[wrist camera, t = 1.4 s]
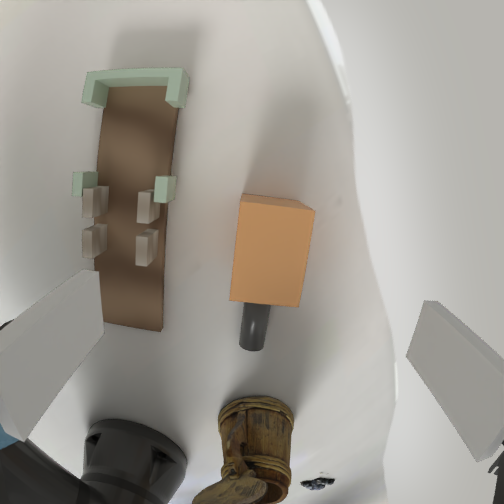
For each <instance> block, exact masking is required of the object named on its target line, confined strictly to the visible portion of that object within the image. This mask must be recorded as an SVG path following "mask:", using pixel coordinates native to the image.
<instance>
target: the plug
mask: <svg viewBox="0 0 504 504" xmlns="http://www.w3.org/2000/svg"><path fill="white" fill-rule="evenodd" d="M314 215H315V211H314V210H313V209H311V208H310V207H308V206H306V205H305V204H303V203H301V202H300V201H296V200H289V199H281V198H274V197H266V196H258V195H249V194H242V196H241V201H240V208H239V217H238V226H237V235H236V243H235V252H234V262H233V271H232V280H231V289H230V299H229V300H230V301H239V302H244V308H243V316H242V324H241V332H240V340H239V345H240V346H241V347H242V348H243V349H245V350H248V351H259V350H261V349H263V347H264V342H265V336H266V329H267V323H268V317H269V311H270V305H278V306H289V307H299V303H300V297H301V292H302V287H303V281H304V276H305V270H306V264H307V259H308V253H309V247H310V241H311V235H312V228H313V222H314Z"/></svg>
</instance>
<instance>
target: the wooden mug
mask: <svg viewBox="0 0 504 504" xmlns="http://www.w3.org/2000/svg"><path fill="white" fill-rule="evenodd" d="M293 426H294V418H293V414H292V412H291V410H290V409H289V408H288V407H287V406H286V405H285V404H284V403H282V402H281V401H279V400H278V399H274V398H271V397H268V396H254V397H247V398H243V399H239V400H235V401H233V402H232V403H230V404H228V405H227V406H226V407H225V408H224V409H222V411H221V412H220V414H219V415H218V431H219V433H220V436H221V439H222V449H223V458H224V465H223V467H222V468H221V476H222V480H221V481H219V482H217V483H215V484H213V485H211V486H209V487H207V488H205V489H204V490H202V491H201V492H200V493H199V494H198V495H197V496H195V497H194V499H193V501H192V504H276V503H279V502H281V501H283V500H284V499H285V498H286V496H287V494H288V487H289V486H290V484H291V469H290V467H289V465H290V449H291V434H292V431H293Z"/></svg>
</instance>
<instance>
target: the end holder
mask: <svg viewBox="0 0 504 504" xmlns="http://www.w3.org/2000/svg"><path fill="white" fill-rule="evenodd" d="M189 80H190V78H189V76H188V75H187V73H186V72H185V70H184V69H183V68H132V69H116V70H103V71H93V72H87V75H86V80H85V85H84V91H83V96H82V102H81V103H84V104H86V105H89V106H92V107H95V108H106V103H107V97H108V91H109V87H125V86H167V92H166V98H165V101H166V102H168V103H169V104H170V105H171V106H173V107H174V108H185V105H186V98H187V92H188V86H189ZM176 179H177V176H166V175H165V176H156V179H155V190H154V202H159V203H167V202H170V201H172V200H174V199H175V189H176ZM97 184H98V172H91V171H88V172H73V186H72V196H80V197H82V196H83V189H84V188H90V187H96V186H97Z"/></svg>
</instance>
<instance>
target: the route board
mask: <svg viewBox="0 0 504 504" xmlns="http://www.w3.org/2000/svg"><path fill="white" fill-rule="evenodd" d="M166 92H167V86H125V87H109V91H108V97H107V103H106V108H104V111H103V117H102V125H101V132H100V141H99V150H98V160H97V172H98V184H97V186H96V187H90V188H84V189H83V206H82V217H84V218H94V225H93V226H91V227H89V228H86V229H84V230H82V254H83V258H88V259H93V258H94V266H95V271H98V272H99V281H100V294H101V305H102V315H103V322H107V323H112V324H118V325H123V326H128V327H134V328H139V329H145V330H151V331H157V332H161V331H162V329H163V294H164V262H165V241H166V225H167V210H168V202H167V203H159V202H154V190H155V179H156V176H165V175H166V176H171V166H172V157H173V148H174V140H175V132H176V124H177V117H178V110H179V108H174V107H173V106H171V105H170V104H169V103H168V102H166V101H165V98H166Z"/></svg>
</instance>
